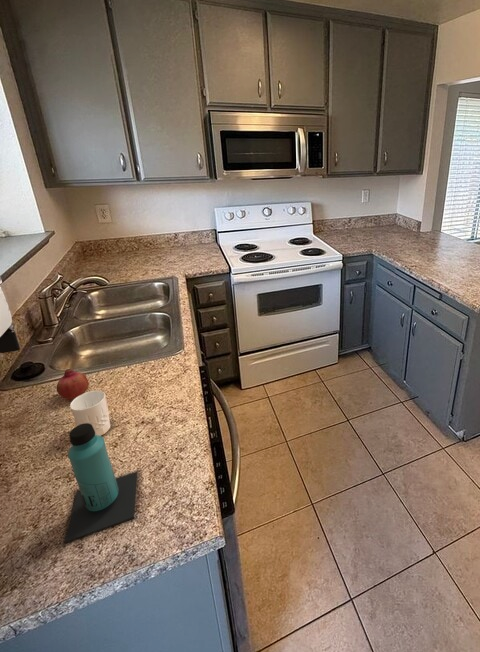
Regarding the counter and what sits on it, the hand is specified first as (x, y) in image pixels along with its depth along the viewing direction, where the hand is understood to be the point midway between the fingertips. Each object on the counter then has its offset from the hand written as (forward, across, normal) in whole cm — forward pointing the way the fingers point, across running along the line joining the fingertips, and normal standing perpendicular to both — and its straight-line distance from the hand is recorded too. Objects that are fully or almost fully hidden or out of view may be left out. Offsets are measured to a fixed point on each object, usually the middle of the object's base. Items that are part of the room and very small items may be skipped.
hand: (0, 363), depth 68 cm
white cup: (+34, -18, +7) cm, 39 cm away
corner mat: (+33, +8, +12) cm, 37 cm away
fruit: (+34, -37, -1) cm, 50 cm away
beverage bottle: (+33, +8, +12) cm, 36 cm away
